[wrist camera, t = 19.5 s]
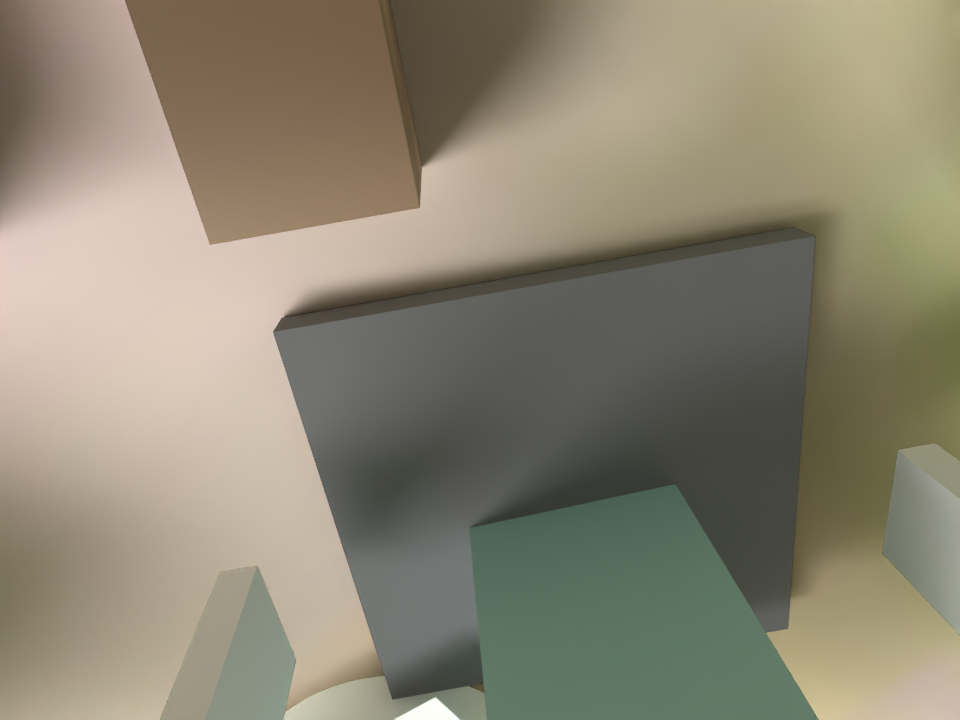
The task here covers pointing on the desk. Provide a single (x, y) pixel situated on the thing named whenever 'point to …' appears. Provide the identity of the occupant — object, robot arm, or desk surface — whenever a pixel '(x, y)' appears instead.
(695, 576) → the teal block
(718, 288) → the rubber mat
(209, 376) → the desk surface
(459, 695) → the hourglass
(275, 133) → the parallel wooden bars
